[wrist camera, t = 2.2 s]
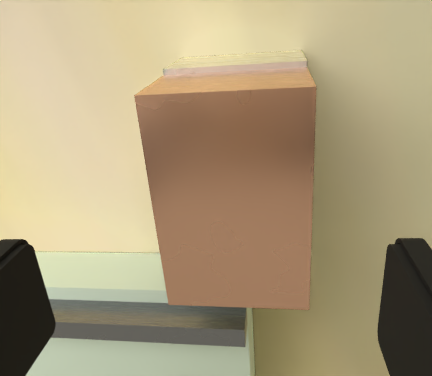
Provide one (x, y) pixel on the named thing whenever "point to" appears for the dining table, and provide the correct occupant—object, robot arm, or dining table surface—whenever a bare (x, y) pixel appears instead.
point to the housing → (232, 178)
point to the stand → (134, 322)
